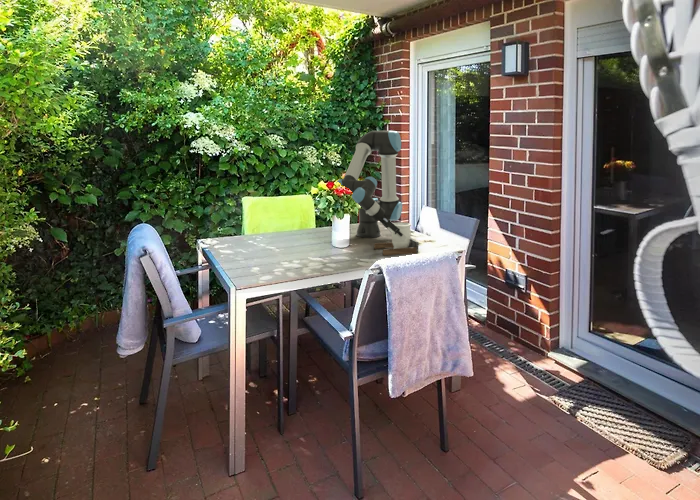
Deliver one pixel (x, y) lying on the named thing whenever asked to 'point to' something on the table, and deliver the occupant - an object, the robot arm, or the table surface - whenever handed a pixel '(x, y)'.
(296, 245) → the table surface
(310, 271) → the table surface
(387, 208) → the robot arm
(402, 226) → the jar
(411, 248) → the channel
